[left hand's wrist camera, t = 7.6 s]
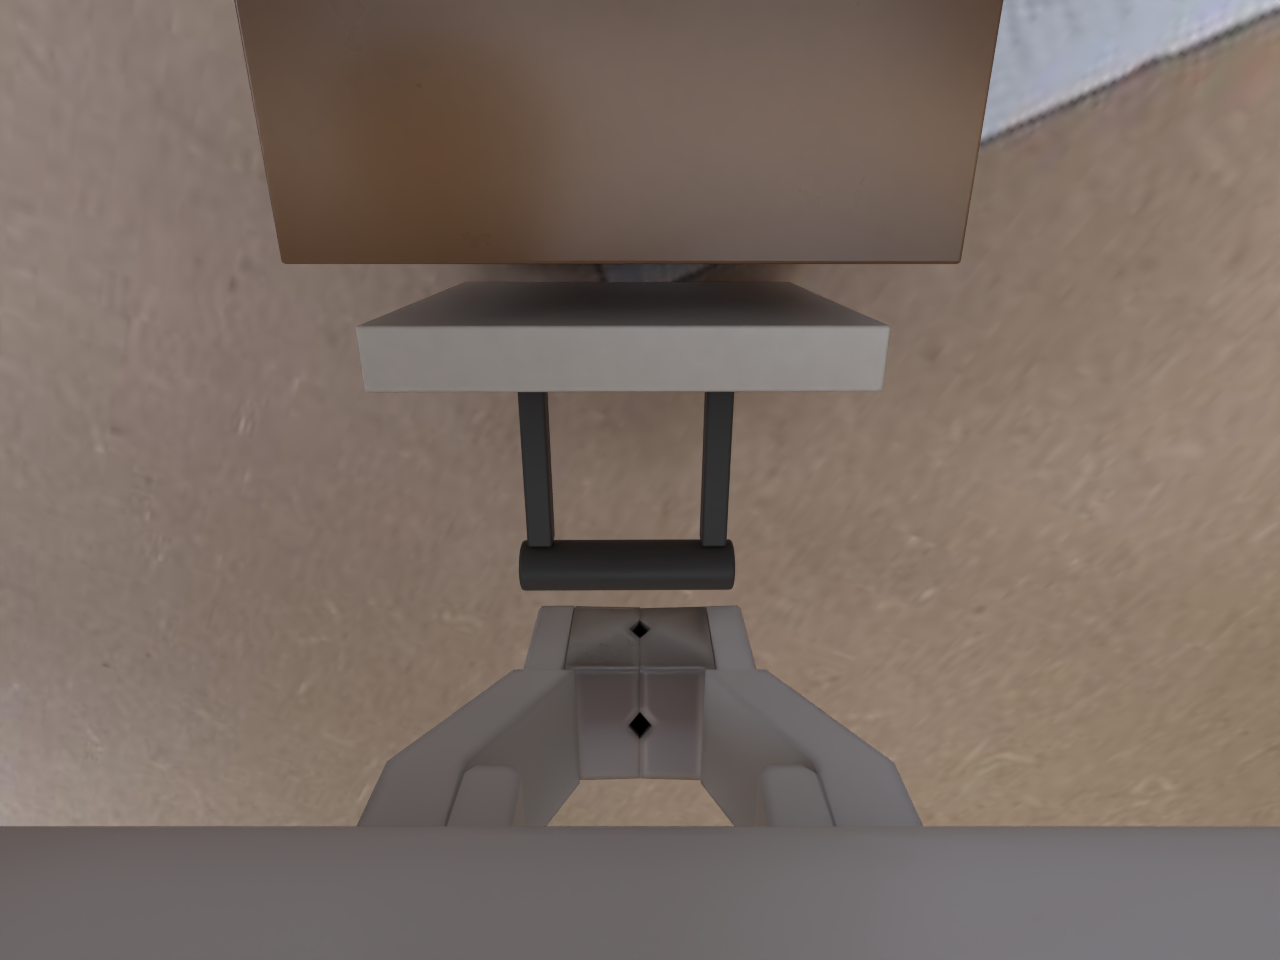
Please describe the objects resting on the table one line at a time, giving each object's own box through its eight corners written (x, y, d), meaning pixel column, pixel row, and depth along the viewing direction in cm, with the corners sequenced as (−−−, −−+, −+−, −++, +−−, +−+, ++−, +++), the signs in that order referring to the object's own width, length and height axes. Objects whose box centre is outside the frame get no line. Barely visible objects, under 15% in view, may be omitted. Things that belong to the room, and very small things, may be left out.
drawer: (774, 502, 22) (848, 654, 15) (482, 503, 22) (403, 657, 14) (857, -558, 14) (1138, -1526, 6) (386, -563, 14) (73, -1553, 6)
